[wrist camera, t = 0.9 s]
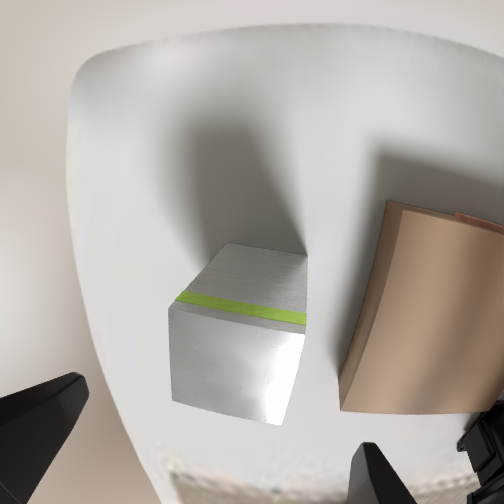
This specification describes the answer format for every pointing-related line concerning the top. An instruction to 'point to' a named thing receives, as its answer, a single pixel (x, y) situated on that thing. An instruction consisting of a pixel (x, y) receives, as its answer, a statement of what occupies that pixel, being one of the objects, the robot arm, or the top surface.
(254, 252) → the metal column
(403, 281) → the walnut riser
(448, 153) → the top surface
